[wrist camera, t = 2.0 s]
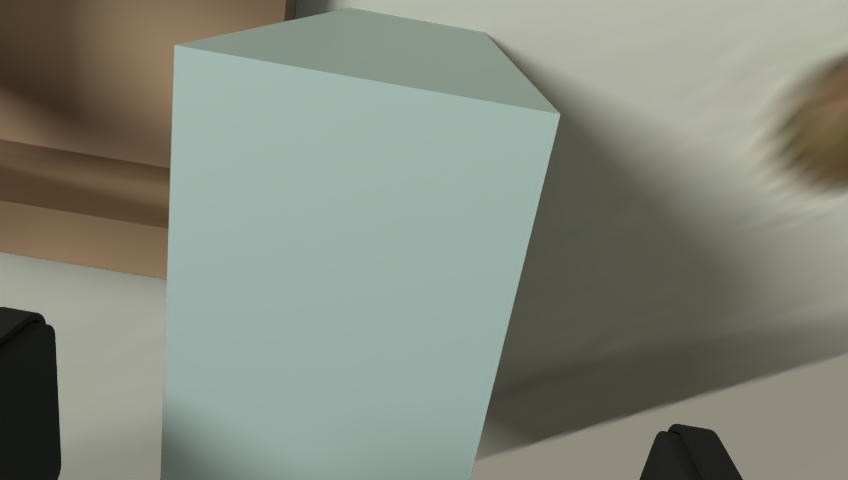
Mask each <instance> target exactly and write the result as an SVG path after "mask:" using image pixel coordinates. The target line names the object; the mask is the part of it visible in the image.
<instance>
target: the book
mask: <svg viewBox="0 0 848 480" xmlns="http://www.w3.org/2000/svg"><path fill="white" fill-rule="evenodd" d="M560 115H561V114H560V113H559V112H558V111H557V110H556V109H555V108H554V107H553V106H552V104H551V103H550V102H549V101H548V100H547V99H546V98H545V97H544V96H543V95H542V94H541V93H540V92H539V91H538V89H537V88H536V87H535V86H534V85H533V84H532V83H531V82H530V81H529V80H528V79H527V78H526V77H525V76H524V74H523V73H522V72H521V71H520V70H519V69H518V68H517V67H516V66H515V65H514V64H513V63H512V62H511V60H510V59H509V58H508V57H507V56H506V55H505V54H504V53H503V52H502V51H501V50H500V49H499V48H498V47H497V45H496V44H495V43H494V42H493V41H492V40H491V39H490V38H489V37H488V36H487V35H486V34H485V33H484V32H479V31H474V30H468V29H463V28H457V27H452V26H446V25H441V24H436V23H430V22H425V21H419V20H414V19H408V18H403V17H397V16H392V15H386V14H381V13H376V12H370V11H365V10H359V9H354V8H346V9H342V10H337V11H332V12H327V13H323V14H318V15H313V16H309V17H304V18H299V19H295V20H290V21H285V22H280V23H276V24H271V25H266V26H262V27H257V28H252V29H248V30H243V31H238V32H234V33H229V34H224V35H219V36H215V37H210V38H205V39H201V40H196V41H191V42H187V43H182V44H177V45H175V46H174V77H173V108H172V138H171V169H170V200H169V231H168V262H167V293H166V324H165V355H164V386H163V417H162V448H161V479H160V480H470V477H471V473H472V469H473V465H474V461H475V457H476V453H477V449H478V445H479V441H480V437H481V433H482V429H483V425H484V421H485V417H486V413H487V409H488V405H489V401H490V397H491V393H492V389H493V385H494V381H495V377H496V373H497V369H498V365H499V360H500V356H501V352H502V348H503V344H504V340H505V336H506V332H507V328H508V324H509V320H510V316H511V312H512V308H513V304H514V300H515V296H516V292H517V288H518V284H519V280H520V276H521V272H522V268H523V264H524V260H525V256H526V252H527V248H528V244H529V240H530V236H531V232H532V228H533V224H534V219H535V215H536V211H537V207H538V203H539V199H540V195H541V191H542V187H543V183H544V179H545V175H546V171H547V167H548V163H549V159H550V155H551V151H552V147H553V143H554V139H555V135H556V131H557V127H558V123H559V119H560Z"/></svg>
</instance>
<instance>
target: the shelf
mask: <svg viewBox="0 0 848 480" xmlns="http://www.w3.org/2000/svg"><path fill="white" fill-rule="evenodd" d="M295 7H296V0H0V252H4V253H10V254H16V255H22V256H28V257H34V258H40V259H46V260H52V261H58V262H64V263H70V264H76V265H82V266H88V267H94V268H100V269H106V270H112V271H118V272H124V273H130V274H136V275H142V276H148V277H154V278H160V279H166V280H167V262H168V231H169V200H170V169H171V138H172V108H173V77H174V46H175V45H177V44H182V43H187V42H191V41H196V40H201V39H205V38H210V37H215V36H219V35H224V34H229V33H234V32H238V31H243V30H248V29H252V28H257V27H262V26H266V25H271V24H276V23H280V22H285V21H290V20H294V18H295Z"/></svg>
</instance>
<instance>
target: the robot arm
mask: <svg viewBox="0 0 848 480" xmlns="http://www.w3.org/2000/svg"><path fill="white" fill-rule="evenodd" d="M60 470H61V448H60V427H59V406H58V385H57V364H56V343H55V331H54V329H53V327H52V326H50V325H47V324H46V322H45V319H44V317H43V316H42V315H41V314H39V313H35V312H29V311H23V310H17V309H12V308H6V307H0V480H58V477H59V474H60ZM640 480H743V479H742V478H741V476H740V474H739V472H738V471H737V469H736V467H735V465H734V464H733V462H732V460H731V458H730V456H729V455H728V453H727V451H726V449H725V448H724V446H723V444H722V443H721V441H720V439H719V437H718V436H717V434H716V433H715V432H714V431H712V430H709V429H704V428H698V427H692V426H686V425H681V424H674V425H672V426H671V427H670V428H669V430H668V432H665V431H661V432H659V433H658V434H657V436H656V438H655V440H654V443H653V445H652V448H651V451H650V453H649V456H648V459H647V461H646V464H645V467H644V469H643V472H642V474H641V477H640Z"/></svg>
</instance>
